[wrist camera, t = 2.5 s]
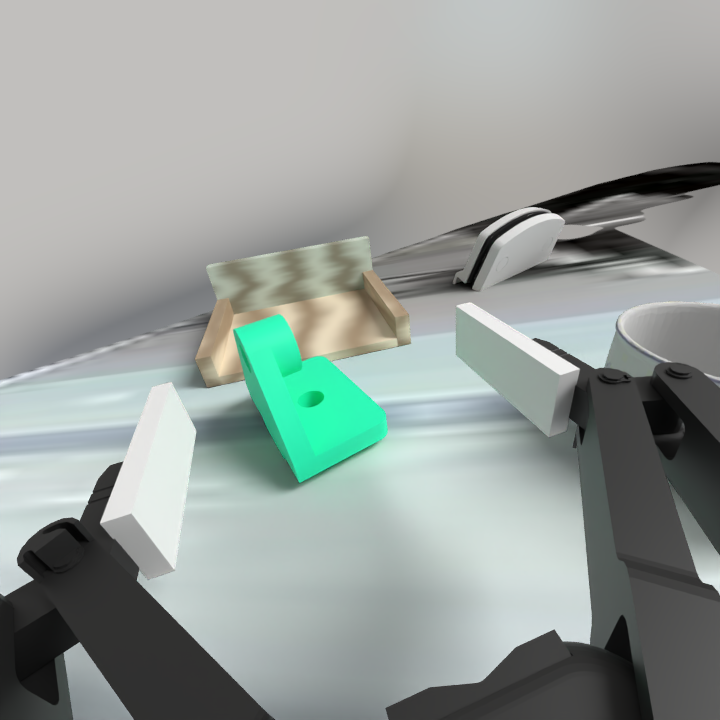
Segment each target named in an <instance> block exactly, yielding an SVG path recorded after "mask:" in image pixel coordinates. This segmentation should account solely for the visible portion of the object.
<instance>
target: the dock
mask: <svg viewBox="0 0 720 720" xmlns="http://www.w3.org/2000/svg"><path fill="white" fill-rule="evenodd" d="M206 270H207V273H208V275H209V278H210V281H211V284H212V286H213V289H214V292H215V295H216V297H217V303H216V305H215V308H214V310H213V313H212V316H211V318H210V321H209V324H208V326H207V329H206V331H205V334H204V337H203V339H202V342H201V345H200V347H199V350H198V353H197V355H196V358H195V361H196V363H197V365H198V368H199V370H200V372H201V374H202V377H203V379H204V381H205V384H206V386H207V388H210V387H214V386H219V385H223V384H228V383H232V382H237V381H242V380H245V377H244V373H243V369H242V365H241V361H240V357H239V353H238V349H237V345H236V341H235V337H234V333H233V329H235V328H238V327H241V326H244V325H247V324H250V323H253V322H256V321H259V320H262V319H265V318H268V317H271V316H274V315H277V314H281V315H282V316H283V317H284V318H285V320H286V321H287V323H288V325H289V327H290V328H291V330H292V333H293V335H294V337H295V340H296V342H297V345H298V348H299V351H300V355H301V360H302V361H305V360H307V359H310V358H312V357H316V356H323V357H326V358H327V359H328V360H329V361H333V360H338V359H342V358H347V357H352V356H356V355H361V354H365V353H370V352H374V351H379V350H384V349H388V348H393V347H397V346H402V345H407V344H411V338H410V322H409V314H408V313H407V311H406V310H405V309H404V308H403V307H402V305H401V304H400V303H399V302H398V301H397V299H396V298H395V297H394V296H393V294H392V293H391V292H390V291H389V290H388V288H387V287H386V286H385V285H384V283H383V282H382V281H381V280H380V279H379V277H378V276H377V275H376V274H375V273H374V271H373V270H372V261H371V252H370V243H369V238H368V237H367V236H364V237H358V238H353V239H348V240H342V241H336V242H331V243H325V244H320V245H314V246H309V247H303V248H298V249H292V250H287V251H281V252H276V253H270V254H265V255H259V256H254V257H249V258H243V259H237V260H232V261H226V262H221V263H215V264H210V265H207V267H206Z"/></svg>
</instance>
